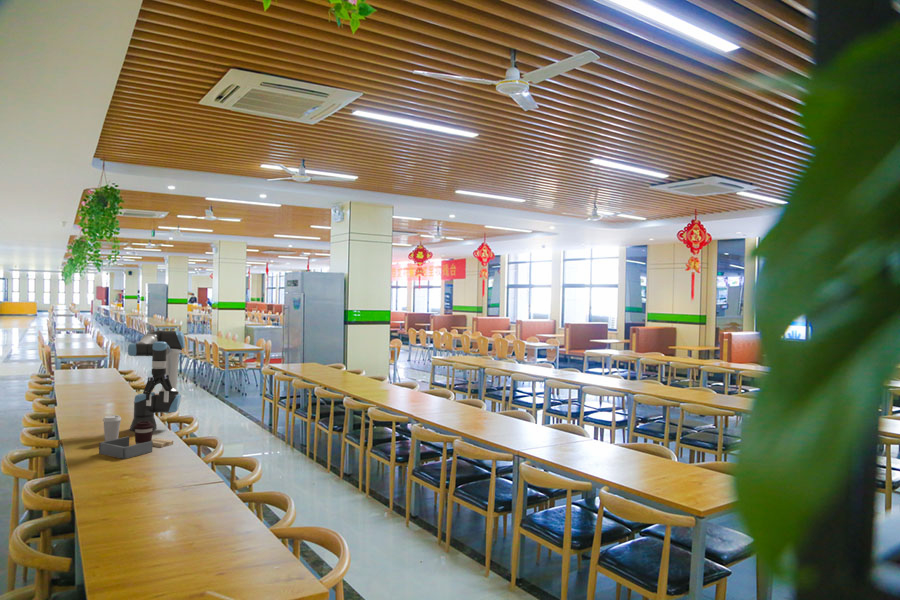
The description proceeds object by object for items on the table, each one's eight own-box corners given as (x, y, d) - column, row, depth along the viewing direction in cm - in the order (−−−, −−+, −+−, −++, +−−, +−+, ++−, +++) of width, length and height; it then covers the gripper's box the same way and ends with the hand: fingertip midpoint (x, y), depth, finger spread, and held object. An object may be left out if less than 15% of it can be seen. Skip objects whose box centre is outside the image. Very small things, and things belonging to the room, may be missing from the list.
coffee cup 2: (156, 447, 331) (157, 420, 331) (145, 451, 321) (146, 424, 321) (140, 445, 332) (141, 419, 332) (129, 450, 322) (130, 423, 322)
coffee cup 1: (114, 444, 333) (115, 418, 333) (98, 443, 333) (99, 417, 333) (124, 440, 342) (125, 415, 342) (108, 439, 342) (109, 414, 342)
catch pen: (127, 446, 329) (128, 436, 329) (152, 451, 320) (152, 441, 320) (99, 453, 313) (99, 442, 313) (123, 459, 305) (124, 447, 305)
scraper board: (158, 442, 342) (158, 438, 342) (173, 445, 338) (173, 440, 338) (146, 445, 335) (146, 441, 335) (161, 448, 330) (162, 443, 330)
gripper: (169, 365, 353) (167, 400, 353) (137, 369, 329) (135, 406, 329) (179, 366, 351) (178, 401, 351) (147, 370, 327) (146, 407, 327)
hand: (157, 403), depth 340 cm, fingers open, 13 cm apart
